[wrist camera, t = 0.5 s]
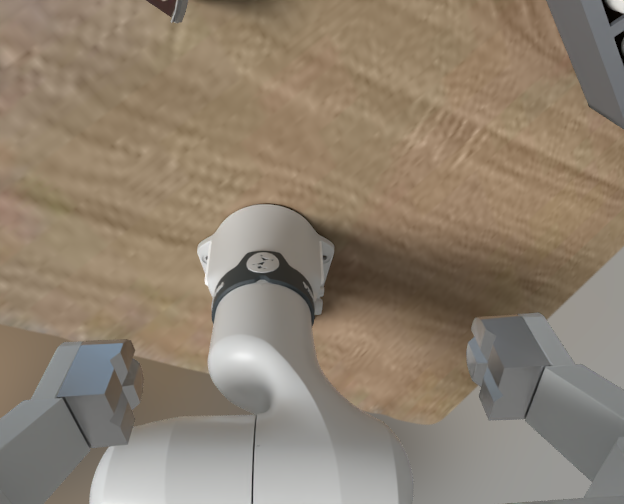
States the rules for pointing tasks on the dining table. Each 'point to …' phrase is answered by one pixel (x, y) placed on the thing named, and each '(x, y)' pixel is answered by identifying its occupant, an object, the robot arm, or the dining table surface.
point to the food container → (171, 8)
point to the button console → (593, 53)
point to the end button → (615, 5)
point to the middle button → (622, 47)
